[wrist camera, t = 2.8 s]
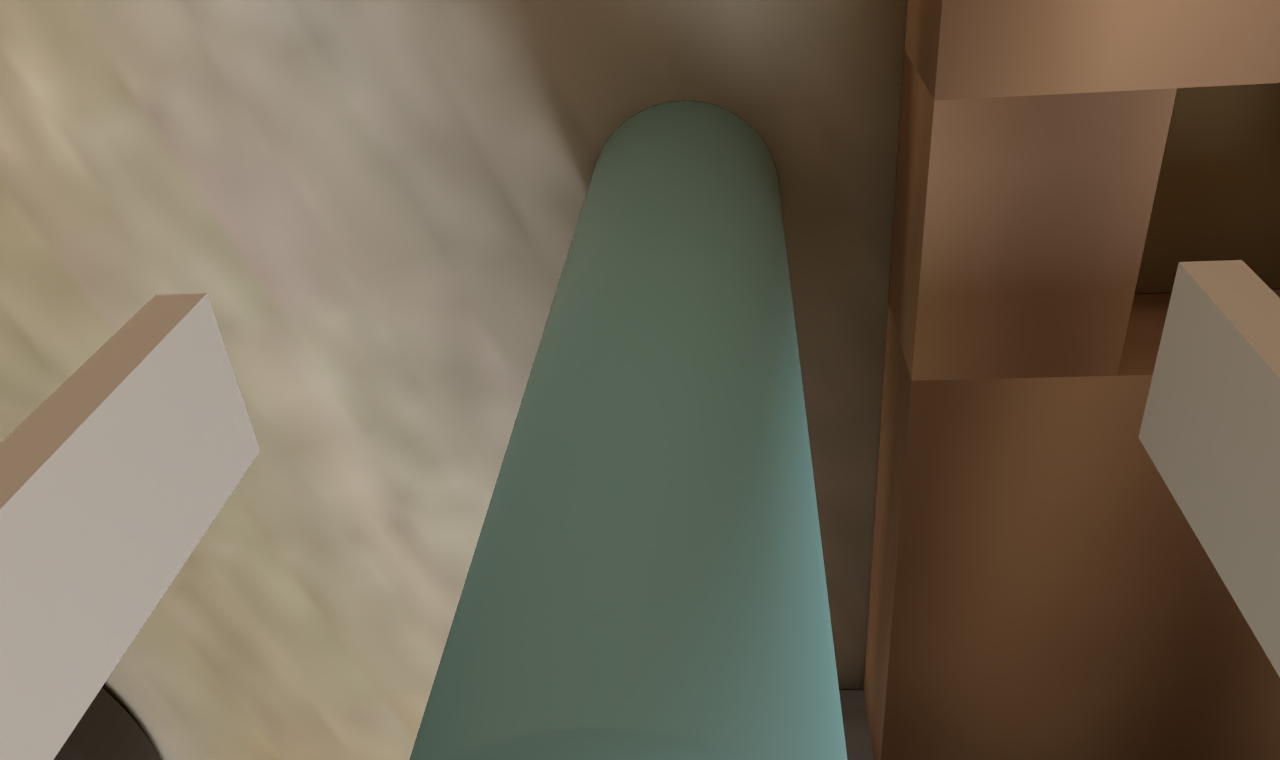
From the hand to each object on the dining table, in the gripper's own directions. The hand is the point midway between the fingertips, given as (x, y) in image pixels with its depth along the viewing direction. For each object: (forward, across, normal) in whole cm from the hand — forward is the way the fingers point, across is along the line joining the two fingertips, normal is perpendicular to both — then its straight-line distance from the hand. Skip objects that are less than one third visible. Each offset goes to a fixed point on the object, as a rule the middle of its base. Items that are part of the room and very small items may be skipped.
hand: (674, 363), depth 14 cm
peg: (+6, 0, 0) cm, 6 cm away
